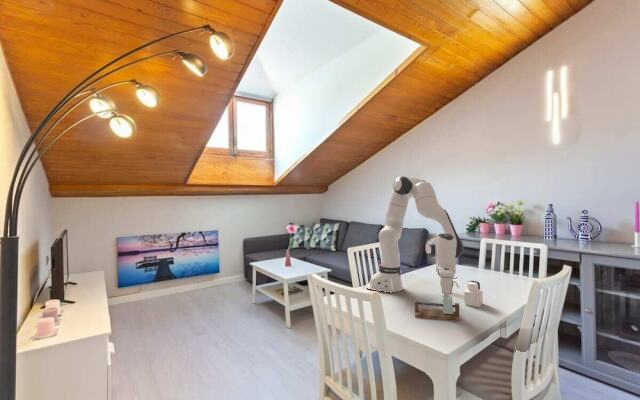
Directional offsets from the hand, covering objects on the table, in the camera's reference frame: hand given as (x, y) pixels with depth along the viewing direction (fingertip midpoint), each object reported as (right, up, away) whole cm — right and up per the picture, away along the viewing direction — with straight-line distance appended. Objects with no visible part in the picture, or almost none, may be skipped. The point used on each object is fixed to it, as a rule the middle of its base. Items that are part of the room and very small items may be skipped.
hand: (445, 296), depth 148 cm
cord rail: (-4, -10, +2) cm, 11 cm away
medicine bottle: (+21, -9, +15) cm, 27 cm away
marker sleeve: (+1, -7, 0) cm, 7 cm away
